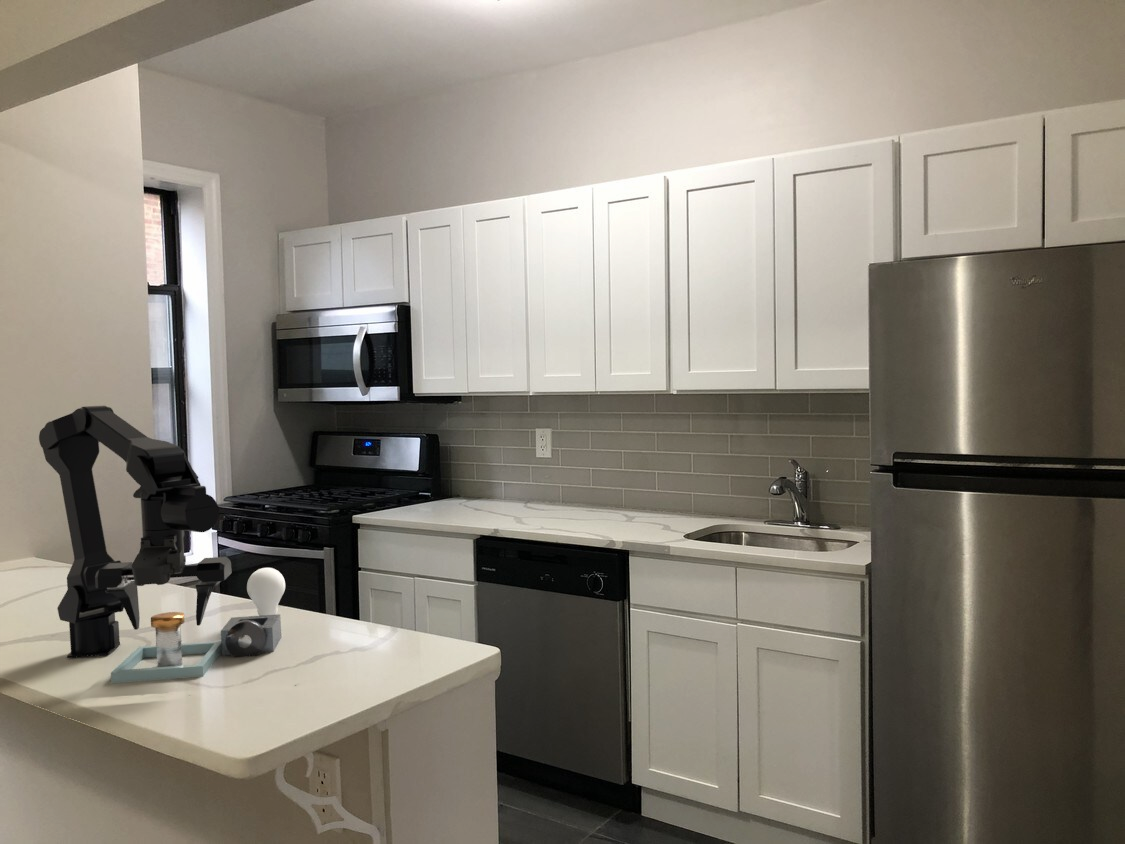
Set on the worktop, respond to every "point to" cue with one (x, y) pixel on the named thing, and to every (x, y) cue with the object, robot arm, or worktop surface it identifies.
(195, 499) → the robot arm
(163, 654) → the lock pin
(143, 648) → the tray
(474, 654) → the worktop surface
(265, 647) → the block
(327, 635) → the worktop surface
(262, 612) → the light bulb
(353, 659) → the worktop surface
